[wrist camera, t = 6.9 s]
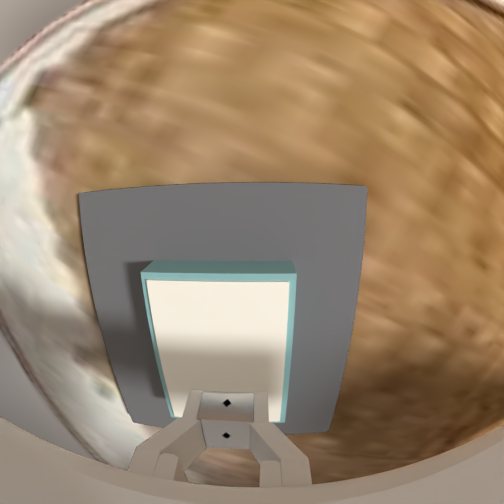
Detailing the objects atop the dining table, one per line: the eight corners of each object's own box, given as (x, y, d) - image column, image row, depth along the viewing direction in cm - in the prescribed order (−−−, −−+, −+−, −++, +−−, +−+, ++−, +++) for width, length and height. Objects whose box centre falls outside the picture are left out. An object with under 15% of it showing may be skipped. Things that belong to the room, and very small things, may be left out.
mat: (362, 185, 12) (367, 186, 12) (327, 425, 17) (328, 431, 16) (84, 192, 13) (78, 193, 12) (135, 416, 17) (133, 422, 16)
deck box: (297, 274, 11) (139, 273, 11) (285, 424, 13) (170, 418, 14) (292, 260, 13) (153, 260, 13) (283, 402, 15) (177, 398, 15)
